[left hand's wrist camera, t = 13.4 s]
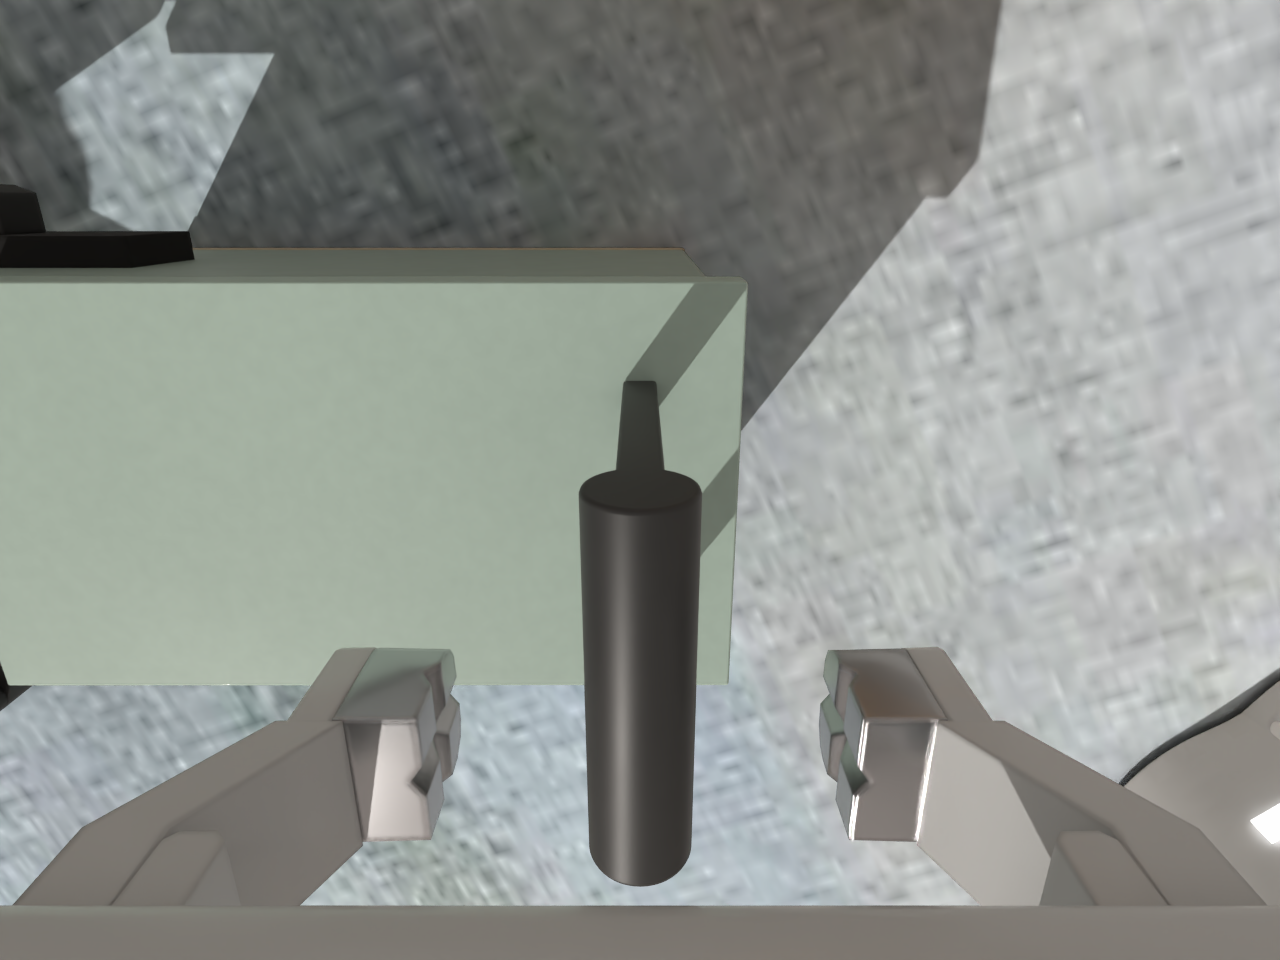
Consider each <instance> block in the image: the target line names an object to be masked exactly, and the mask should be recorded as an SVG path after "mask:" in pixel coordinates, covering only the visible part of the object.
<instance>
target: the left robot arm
mask: <svg viewBox="0 0 1280 960" xmlns="http://www.w3.org/2000/svg"><path fill="white" fill-rule="evenodd" d="M456 677H457V675H456V667H455V660H454V655H453V653H452V652H451V650H450V649H424V648H375V647H349V648H341V649H338V650H336V651H335V652H334V653H333V655H332V656H331V657H330V659H329V660H328V662H327V663H326V665H325V666H324V668H323V669H322V671H321V672H320V674H319V675H318V676H317V678H316V679H315V681H314V682H313V684H312V685H311V687H310V688H309V690H308V691H307V692H306V694H305V695H304V697H303V698H302V700H301V701H300V703H299V704H298V706H297V707H296V709H295V710H294V711H293V713H292V714H291V716H290V717H289V719H288V720H287V721H274V722H273V723H271V724H269V725H267V726H265V727H264V728H262V729H260V730H258V731H256V732H254V733H253V734H251V735H249V736H247V737H245V738H244V739H242V740H240V741H238V742H236V743H235V744H233V745H231V746H229V747H227V748H225V749H224V750H222V751H220V752H218V753H216V754H215V755H213V756H211V757H209V758H207V759H205V760H204V761H202V762H200V763H198V764H196V765H195V766H193V767H191V768H189V769H187V770H186V771H184V772H182V773H180V774H178V775H176V776H175V777H173V778H171V779H169V780H167V781H166V782H164V783H162V784H160V785H158V786H156V787H155V788H153V789H151V790H149V791H147V792H146V793H144V794H142V795H140V796H138V797H136V798H135V799H133V800H131V801H129V802H127V803H126V804H124V805H122V806H120V807H118V808H117V809H115V810H113V811H111V812H109V813H107V814H106V815H104V816H102V817H100V818H98V819H97V820H95V821H93V822H91V823H89V824H87V825H86V826H84V827H82V828H81V829H80V830H79V831H78V833H77V834H76V835H75V836H74V837H73V838H72V839H71V840H70V841H69V843H68V844H67V845H66V846H65V847H64V848H63V849H62V850H61V852H60V853H59V854H58V855H57V856H56V857H55V858H54V859H53V860H52V862H51V863H50V864H49V865H48V866H47V867H46V868H45V869H44V871H43V872H42V873H41V874H40V875H39V876H38V877H37V878H36V879H35V881H34V882H33V883H32V884H31V885H30V886H29V887H28V888H27V889H26V891H25V892H24V893H23V894H22V895H21V896H20V897H19V898H18V900H17V901H16V902H15V903H14V904H13V905H12V906H0V960H1280V681H1278V682H1277V683H1276V684H1275V685H1273V686H1272V687H1271V688H1270V689H1268V690H1267V691H1266V692H1265V693H1264V694H1262V695H1261V696H1260V697H1259V698H1258V699H1257V700H1255V701H1254V702H1253V703H1252V704H1251V705H1250V706H1249V707H1248V708H1247V709H1245V710H1244V711H1243V712H1242V713H1241V714H1239V715H1237V716H1235V717H1234V718H1232V719H1230V720H1228V721H1226V722H1224V723H1222V724H1220V725H1218V726H1216V727H1214V728H1212V729H1209V730H1207V731H1205V732H1203V733H1201V734H1198V735H1196V736H1194V737H1192V738H1190V739H1188V740H1186V741H1184V742H1182V743H1180V744H1179V745H1177V746H1175V747H1173V748H1172V749H1170V750H1168V751H1167V752H1165V753H1164V754H1162V755H1161V756H1159V757H1158V758H1156V759H1155V760H1154V761H1152V762H1151V763H1150V764H1148V765H1147V766H1146V767H1145V768H1143V769H1142V770H1141V771H1140V772H1139V773H1137V774H1136V775H1135V776H1134V777H1133V778H1132V779H1131V780H1130V781H1129V782H1128V783H1127V784H1126V785H1125V786H1124V787H1123V786H1121V785H1119V784H1118V783H1116V782H1114V781H1112V780H1110V779H1109V778H1107V777H1105V776H1103V775H1101V774H1100V773H1098V772H1096V771H1094V770H1092V769H1090V768H1089V767H1087V766H1085V765H1083V764H1081V763H1080V762H1078V761H1076V760H1074V759H1072V758H1071V757H1069V756H1067V755H1065V754H1063V753H1062V752H1060V751H1058V750H1056V749H1054V748H1052V747H1051V746H1049V745H1047V744H1045V743H1043V742H1042V741H1040V740H1038V739H1036V738H1034V737H1033V736H1031V735H1029V734H1027V733H1025V732H1024V731H1022V730H1020V729H1018V728H1016V727H1014V726H1013V725H1011V724H1009V723H1007V722H1005V721H993V720H992V719H991V718H990V716H989V715H988V713H987V712H986V710H985V709H984V707H983V706H982V705H981V703H980V702H979V700H978V699H977V697H976V696H975V694H974V693H973V692H972V690H971V689H970V687H969V686H968V684H967V683H966V681H965V680H964V679H963V677H962V676H961V674H960V673H959V671H958V670H957V668H956V667H955V666H954V664H953V663H952V661H951V660H950V658H949V657H948V655H947V654H946V653H945V651H944V650H942V649H941V648H939V647H920V648H901V649H860V650H828V652H827V656H826V659H825V665H824V674H823V677H824V680H825V682H826V685H827V688H828V690H829V693H830V694H829V695H828V696H827V697H826V698H825V699H824V700H823V702H822V703H821V704H820V717H819V734H820V747H821V753H822V758H823V762H824V765H825V768H826V772H827V774H828V775H829V776H830V777H831V778H833V779H834V780H835V781H836V782H837V791H836V802H837V805H838V808H839V811H840V814H841V817H842V820H843V823H844V826H845V829H846V832H847V835H848V838H849V840H873V841H909V842H917V845H918V846H919V847H920V848H921V849H922V850H923V851H924V852H925V853H926V854H927V855H928V856H929V857H930V858H931V859H932V860H933V861H934V862H935V863H936V864H937V865H939V866H940V867H941V868H942V869H943V870H944V871H945V872H946V873H947V874H948V875H949V876H950V877H951V878H952V879H953V880H954V881H955V882H956V883H957V884H959V885H960V886H961V887H962V888H963V889H964V890H965V891H966V892H967V893H968V894H969V895H970V896H971V897H972V898H973V899H974V900H975V901H976V902H977V903H978V904H980V905H981V906H300V905H301V904H302V903H303V902H304V901H305V900H306V899H307V898H308V897H309V896H310V895H311V894H312V893H313V892H314V891H315V890H316V889H318V888H319V887H320V886H321V885H322V884H323V883H324V882H325V881H326V880H327V879H328V878H329V877H330V876H331V875H332V874H333V873H334V872H335V871H336V870H338V869H339V868H340V867H341V866H342V865H343V864H344V863H345V862H346V861H347V860H348V859H349V858H350V857H351V856H352V855H353V854H354V853H355V852H357V851H358V850H359V849H360V848H361V847H362V846H363V843H362V842H371V841H405V840H431V838H432V835H433V832H434V829H435V826H436V823H437V820H438V817H439V814H440V811H441V808H442V805H443V802H444V792H443V781H445V780H446V779H447V778H449V777H450V776H451V775H452V774H453V771H454V768H455V765H456V761H457V758H458V751H459V744H460V738H461V716H460V704H459V703H458V702H457V701H456V700H455V698H454V697H453V696H452V695H451V694H450V693H451V690H452V687H453V685H454V682H455V679H456Z"/></svg>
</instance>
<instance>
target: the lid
mask: <svg viewBox="0 0 1280 960" xmlns="http://www.w3.org/2000/svg"><path fill="white" fill-rule="evenodd" d="M747 295H748V283H747V281H745V280H744V279H743V278H741V277H0V663H1V665H2V668H3V671H4V674H5V677H6V680H7V683H8V685H312V684H313V682H314V681H315V679H316V678H317V676H318V675H319V674H320V672H321V671H322V669H323V668H324V666H325V665H326V663H327V662H328V660H329V659H330V657H331V656H332V655H333V653H334V652H335V651H336V650H338V649H341V648H349V647H375V648H424V649H450V650H451V652H452V653H453V655H454V660H455V667H456V675H457V677H456V679H455V682H454V685H584V687H585V720H586V752H587V785H588V817H589V847H590V853H591V856H592V858H593V860H594V862H595V864H596V865H597V866H598V868H599V869H600V870H601V871H602V872H603V873H604V874H605V875H606V876H608V877H609V878H611V879H613V880H614V881H617V882H619V883H622V884H625V885H630V886H651V885H655V884H659V883H662V882H664V881H666V880H668V879H670V878H672V877H673V876H674V875H676V874H677V873H678V872H679V871H680V870H681V869H682V867H683V866H684V865H685V863H686V861H687V859H688V858H689V855H690V851H691V838H692V806H693V774H694V742H695V710H696V685H727V684H728V682H729V661H730V641H731V621H732V600H733V580H734V560H735V539H736V519H737V499H738V478H739V458H740V438H741V417H742V397H743V376H744V356H745V336H746V315H747Z"/></svg>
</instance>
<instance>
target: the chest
mask: <svg viewBox="0 0 1280 960" xmlns="http://www.w3.org/2000/svg"><path fill="white" fill-rule="evenodd" d="M193 253H194V258H195V260H187V261H180V262H173V263H165V264H158V265H150V266H143V267H136V268H0V277H706V276H705V275H704V274H703V273H702V271H701V270H700V269H699V268H698V267H697V266H696V264H695V263H694V262H693V261H692V260H691V259H690V258H689V256H688V255H687V254H686V253H685V249H684V248H193Z"/></svg>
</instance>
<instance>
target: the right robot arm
mask: <svg viewBox="0 0 1280 960" xmlns="http://www.w3.org/2000/svg"><path fill="white" fill-rule="evenodd" d="M187 260H195V258H194V253H193V248H192V243H191V238H190V233H189V231H73V232H46V229H45V225H44V222H43V218H42V214H41V210H40V207H39V203H38V199H37V195H36V193H34V192H31V191H29V190H26V189H24V188H21V187H18V186H16V185H0V268H136V267H143V266H150V265H158V264H165V263H173V262H180V261H187ZM31 686H32V685H8V683H7V680H6V677H5V674H4V671H3V668H2V665H1V663H0V711H1V710H2V709H3V708H5V707H6V706H7V705H9V704H10V703H11V702H12V701H14V700H15V699H16V698H17V697H19V696H20V695H21V694H22V693H24V692H25V691H26V690H27V689H29V688H30V687H31Z"/></svg>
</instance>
